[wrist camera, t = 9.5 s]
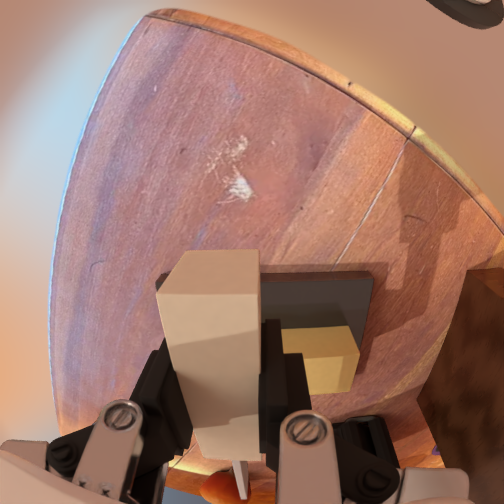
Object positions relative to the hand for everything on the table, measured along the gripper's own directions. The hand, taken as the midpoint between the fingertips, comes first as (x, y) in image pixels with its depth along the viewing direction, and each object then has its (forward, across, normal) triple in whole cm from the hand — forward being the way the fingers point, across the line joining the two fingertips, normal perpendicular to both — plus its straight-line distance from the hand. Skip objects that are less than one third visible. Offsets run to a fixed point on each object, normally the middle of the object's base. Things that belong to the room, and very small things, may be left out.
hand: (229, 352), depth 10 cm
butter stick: (+9, -4, +8) cm, 13 cm away
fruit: (+11, +5, +39) cm, 41 cm away
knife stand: (+11, -23, +11) cm, 28 cm away
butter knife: (0, 0, +4) cm, 4 cm away
